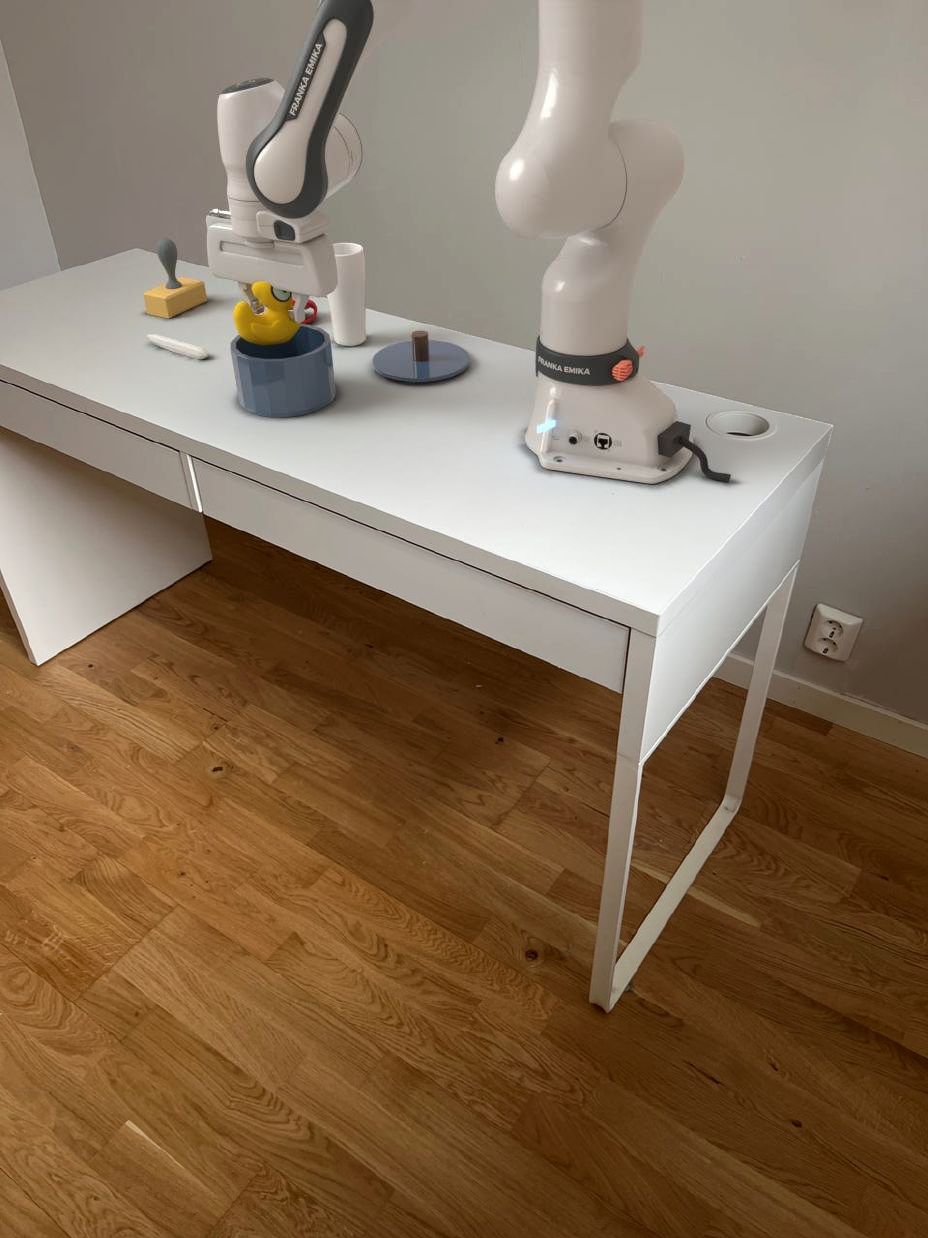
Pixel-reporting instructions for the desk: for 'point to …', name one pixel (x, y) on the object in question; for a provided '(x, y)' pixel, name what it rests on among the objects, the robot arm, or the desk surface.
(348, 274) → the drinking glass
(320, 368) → the pot
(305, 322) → the tracker holder
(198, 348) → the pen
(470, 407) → the desk surface
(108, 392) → the desk surface
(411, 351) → the lid
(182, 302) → the rubber stamp
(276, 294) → the duckling
